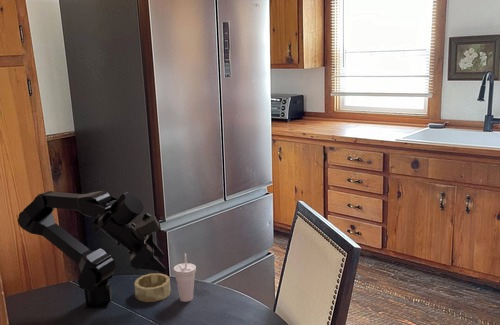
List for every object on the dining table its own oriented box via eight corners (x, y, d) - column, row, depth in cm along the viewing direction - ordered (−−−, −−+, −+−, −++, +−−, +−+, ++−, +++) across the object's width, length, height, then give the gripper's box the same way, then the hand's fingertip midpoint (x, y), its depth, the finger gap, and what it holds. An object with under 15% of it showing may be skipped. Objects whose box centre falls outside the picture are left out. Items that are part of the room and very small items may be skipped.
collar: (133, 302, 134) (132, 289, 133) (139, 286, 144) (138, 274, 143) (168, 301, 135) (167, 288, 134) (171, 284, 145) (171, 272, 144)
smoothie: (186, 306, 132) (183, 259, 129) (170, 299, 135) (167, 254, 132) (202, 297, 137) (199, 252, 134) (186, 291, 140) (183, 247, 137)
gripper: (140, 219, 118) (186, 255, 123) (140, 198, 136) (181, 230, 141) (110, 252, 118) (158, 286, 123) (114, 227, 136) (156, 258, 141)
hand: (164, 263), depth 132 cm, fingers open, 9 cm apart
